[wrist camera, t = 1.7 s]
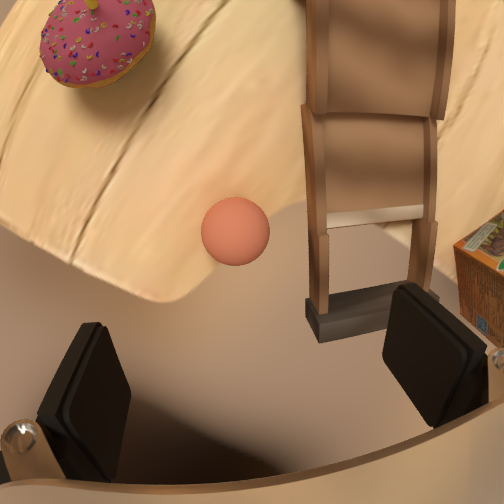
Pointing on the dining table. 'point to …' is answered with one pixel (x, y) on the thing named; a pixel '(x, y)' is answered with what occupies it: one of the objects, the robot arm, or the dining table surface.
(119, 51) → the cupcake
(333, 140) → the lane
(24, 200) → the dining table surface
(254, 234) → the ball
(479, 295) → the milk carton
